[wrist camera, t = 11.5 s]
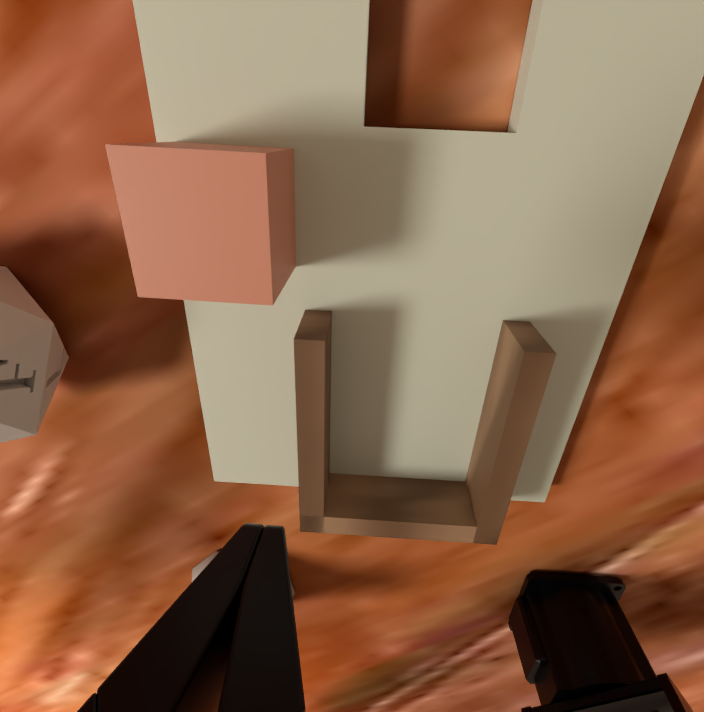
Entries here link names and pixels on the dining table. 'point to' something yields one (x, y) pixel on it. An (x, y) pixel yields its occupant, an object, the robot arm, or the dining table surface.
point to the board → (423, 222)
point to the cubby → (410, 495)
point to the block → (207, 219)
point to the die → (25, 360)
